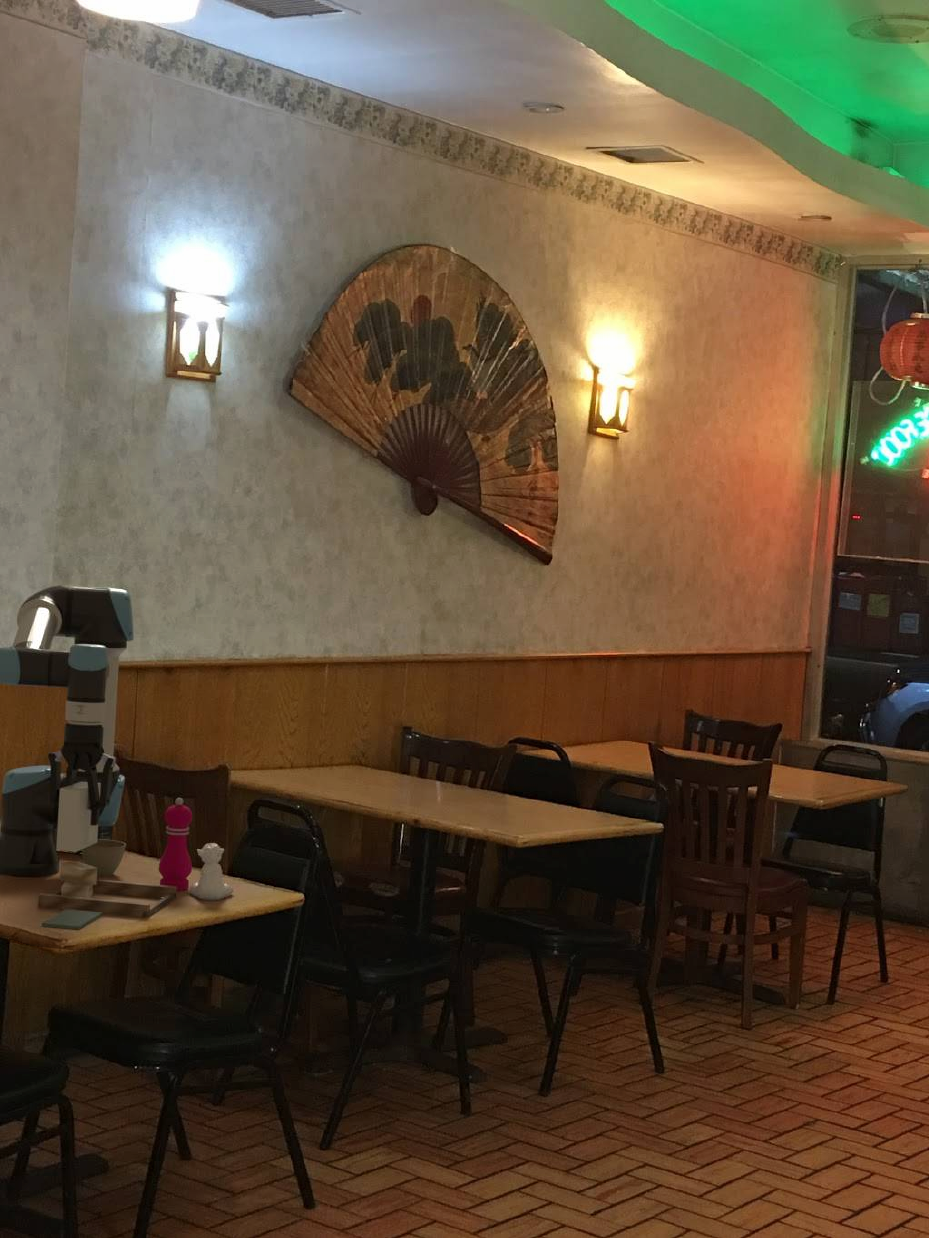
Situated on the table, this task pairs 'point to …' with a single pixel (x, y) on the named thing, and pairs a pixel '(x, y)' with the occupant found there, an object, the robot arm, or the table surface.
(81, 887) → the offcut low
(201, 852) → the seated beast figurine
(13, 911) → the table surface
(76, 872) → the offcut top
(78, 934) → the table surface
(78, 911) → the mat
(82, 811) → the block
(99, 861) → the flower pot
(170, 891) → the wooden tray
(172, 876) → the pepper mill
